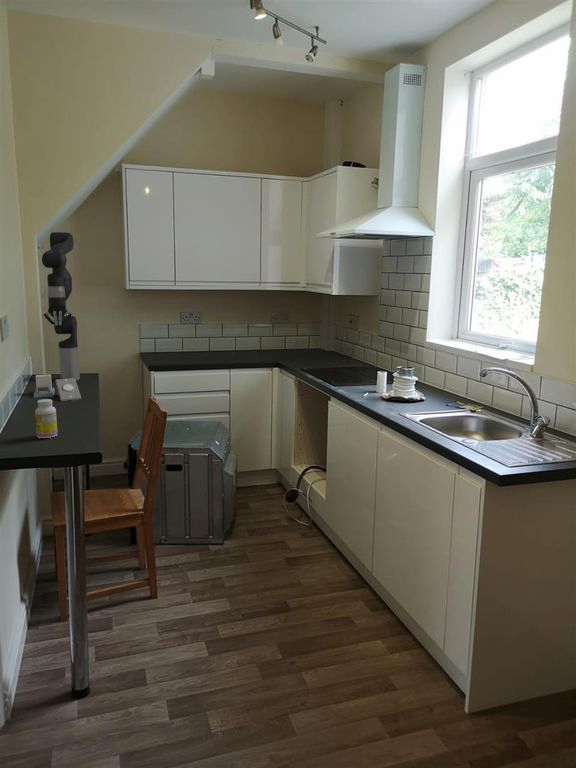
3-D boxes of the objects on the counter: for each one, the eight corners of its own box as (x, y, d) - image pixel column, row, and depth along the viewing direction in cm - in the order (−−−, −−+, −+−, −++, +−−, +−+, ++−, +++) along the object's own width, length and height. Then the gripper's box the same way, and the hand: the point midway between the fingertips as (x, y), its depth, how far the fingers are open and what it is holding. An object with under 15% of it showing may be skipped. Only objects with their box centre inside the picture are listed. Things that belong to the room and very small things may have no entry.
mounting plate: (36, 391, 280) (36, 388, 279) (54, 390, 282) (54, 387, 282) (33, 397, 267) (33, 394, 266) (53, 396, 269) (52, 393, 269)
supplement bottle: (36, 435, 206) (34, 399, 204) (57, 433, 209) (54, 397, 207) (37, 440, 200) (34, 403, 198) (58, 438, 203) (55, 401, 201)
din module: (37, 389, 276) (36, 374, 274) (51, 389, 277) (50, 373, 276) (36, 391, 271) (35, 376, 270) (51, 391, 273) (50, 375, 271)
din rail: (40, 388, 280) (39, 382, 279) (50, 387, 281) (49, 382, 281) (38, 394, 267) (37, 388, 267) (48, 393, 268) (48, 387, 268)
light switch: (61, 398, 258) (55, 377, 268) (60, 408, 262) (55, 388, 271) (81, 396, 263) (75, 376, 272) (80, 406, 266) (74, 386, 276)
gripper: (71, 295, 283) (74, 332, 286) (41, 296, 279) (44, 332, 282) (71, 296, 276) (73, 333, 279) (40, 296, 272) (43, 334, 275)
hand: (59, 333), depth 281 cm, fingers closed
